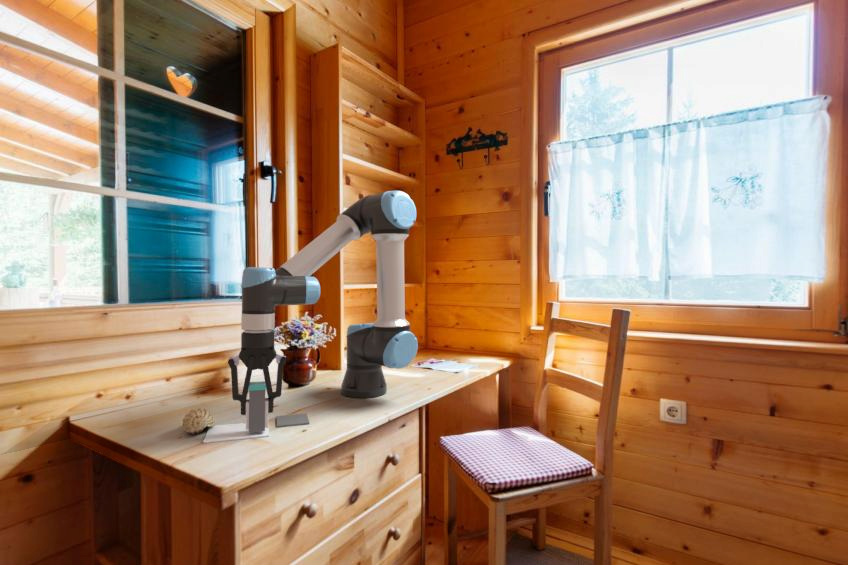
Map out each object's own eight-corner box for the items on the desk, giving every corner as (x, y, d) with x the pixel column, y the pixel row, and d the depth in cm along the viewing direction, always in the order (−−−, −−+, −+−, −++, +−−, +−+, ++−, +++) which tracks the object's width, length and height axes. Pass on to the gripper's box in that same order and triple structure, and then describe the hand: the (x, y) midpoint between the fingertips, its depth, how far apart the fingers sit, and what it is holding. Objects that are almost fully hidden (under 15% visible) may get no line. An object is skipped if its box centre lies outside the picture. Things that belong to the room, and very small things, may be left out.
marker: (265, 426, 108) (265, 381, 108) (265, 431, 104) (265, 384, 104) (248, 427, 106) (249, 382, 106) (248, 432, 103) (248, 385, 103)
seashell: (176, 443, 106) (190, 434, 100) (171, 419, 108) (184, 408, 102) (209, 433, 112) (224, 424, 106) (203, 410, 114) (218, 400, 107)
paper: (268, 421, 114) (268, 420, 114) (268, 436, 104) (268, 435, 104) (209, 427, 109) (209, 426, 109) (203, 443, 99) (203, 442, 99)
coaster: (306, 414, 120) (306, 413, 120) (309, 424, 113) (309, 422, 113) (276, 417, 117) (276, 416, 117) (276, 427, 110) (276, 425, 110)
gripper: (293, 328, 112) (291, 418, 112) (222, 329, 106) (220, 425, 106) (294, 331, 104) (293, 428, 105) (218, 333, 99) (217, 435, 99)
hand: (257, 426), depth 105 cm, fingers closed on marker, 4 cm apart
